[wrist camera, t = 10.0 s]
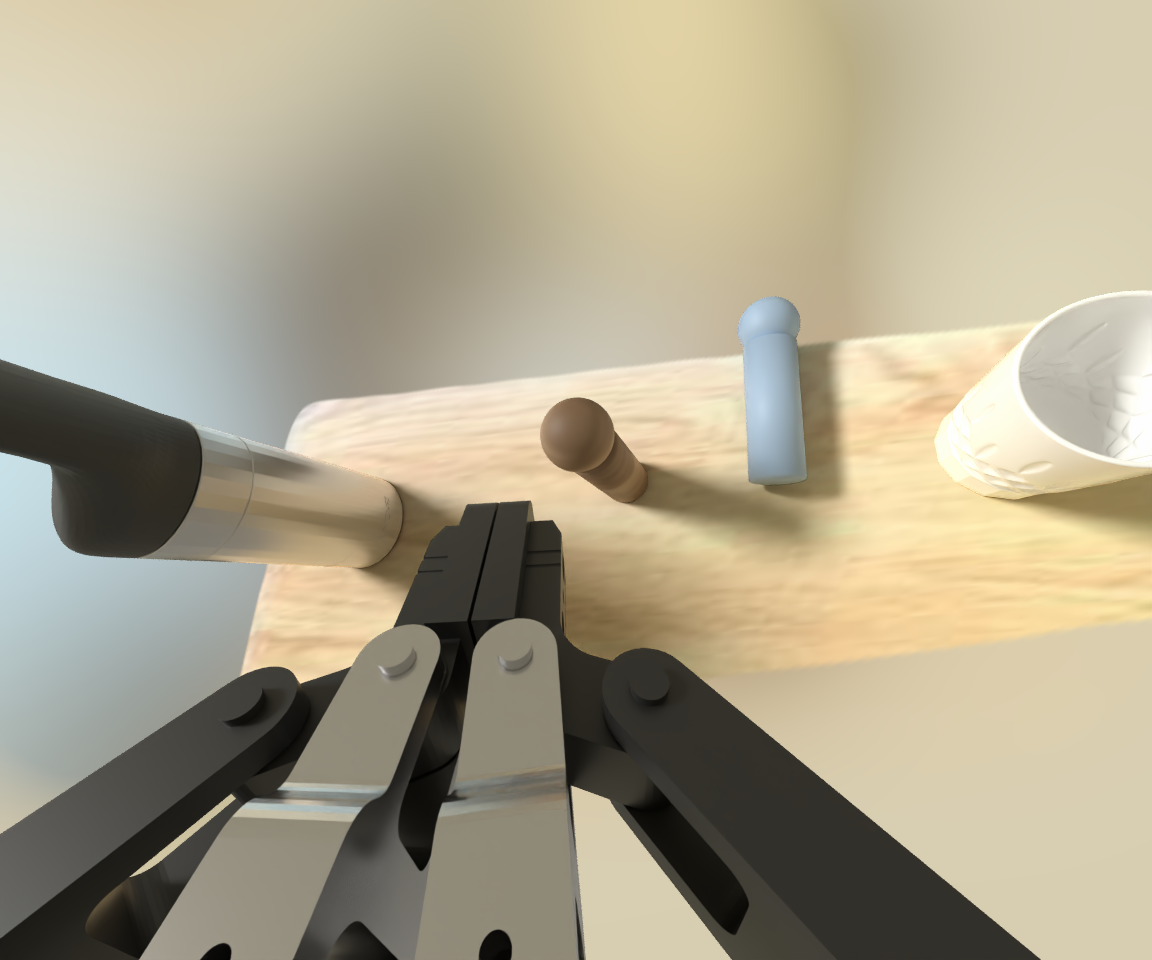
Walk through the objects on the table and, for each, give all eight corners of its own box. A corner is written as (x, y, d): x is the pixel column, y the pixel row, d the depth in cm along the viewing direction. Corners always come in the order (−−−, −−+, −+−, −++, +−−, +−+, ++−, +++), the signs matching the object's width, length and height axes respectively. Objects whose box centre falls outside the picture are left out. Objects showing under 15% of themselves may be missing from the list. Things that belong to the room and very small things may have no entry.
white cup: (1123, 468, 24) (1359, 399, 15) (980, 531, 26) (1115, 503, 17) (1017, 366, 27) (1161, 255, 18) (894, 429, 29) (969, 356, 19)
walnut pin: (600, 507, 35) (525, 463, 22) (601, 458, 36) (529, 389, 23) (651, 505, 33) (601, 458, 21) (651, 454, 34) (602, 380, 22)
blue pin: (745, 473, 27) (737, 289, 30) (743, 486, 31) (736, 322, 34) (818, 471, 26) (802, 278, 29) (806, 485, 30) (793, 314, 33)
